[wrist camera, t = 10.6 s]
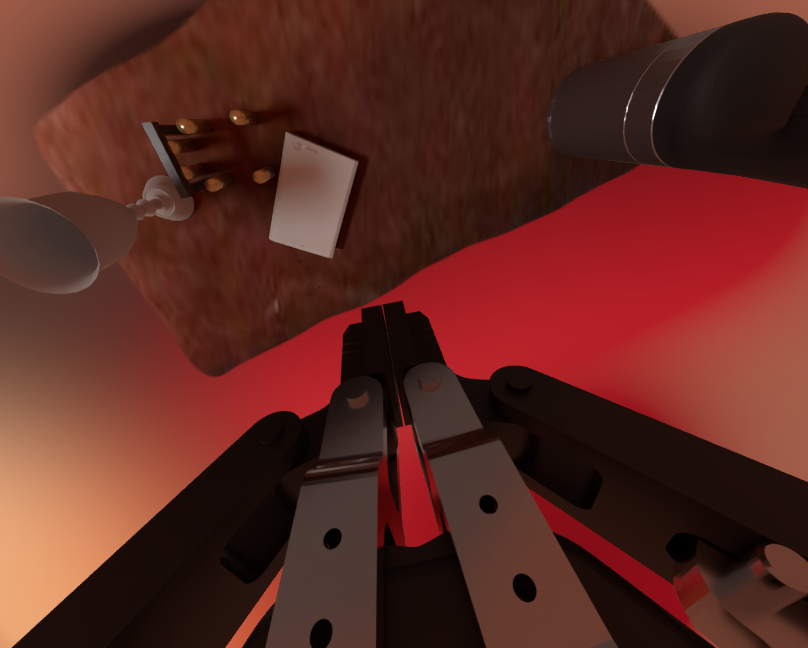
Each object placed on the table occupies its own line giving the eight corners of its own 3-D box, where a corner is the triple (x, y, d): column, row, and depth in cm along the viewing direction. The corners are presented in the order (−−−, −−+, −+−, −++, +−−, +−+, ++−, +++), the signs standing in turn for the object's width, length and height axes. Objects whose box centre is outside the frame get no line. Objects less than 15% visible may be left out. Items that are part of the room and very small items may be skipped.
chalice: (160, 234, 37) (31, 305, 22) (118, 176, 34) (-70, 214, 19) (216, 218, 37) (123, 278, 22) (180, 158, 34) (40, 182, 19)
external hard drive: (285, 131, 32) (268, 239, 38) (358, 162, 35) (332, 259, 41) (287, 131, 33) (271, 235, 39) (358, 160, 36) (333, 254, 42)
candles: (254, 111, 32) (235, 107, 27) (277, 176, 36) (264, 184, 31) (174, 124, 32) (139, 123, 27) (204, 189, 35) (179, 199, 30)
